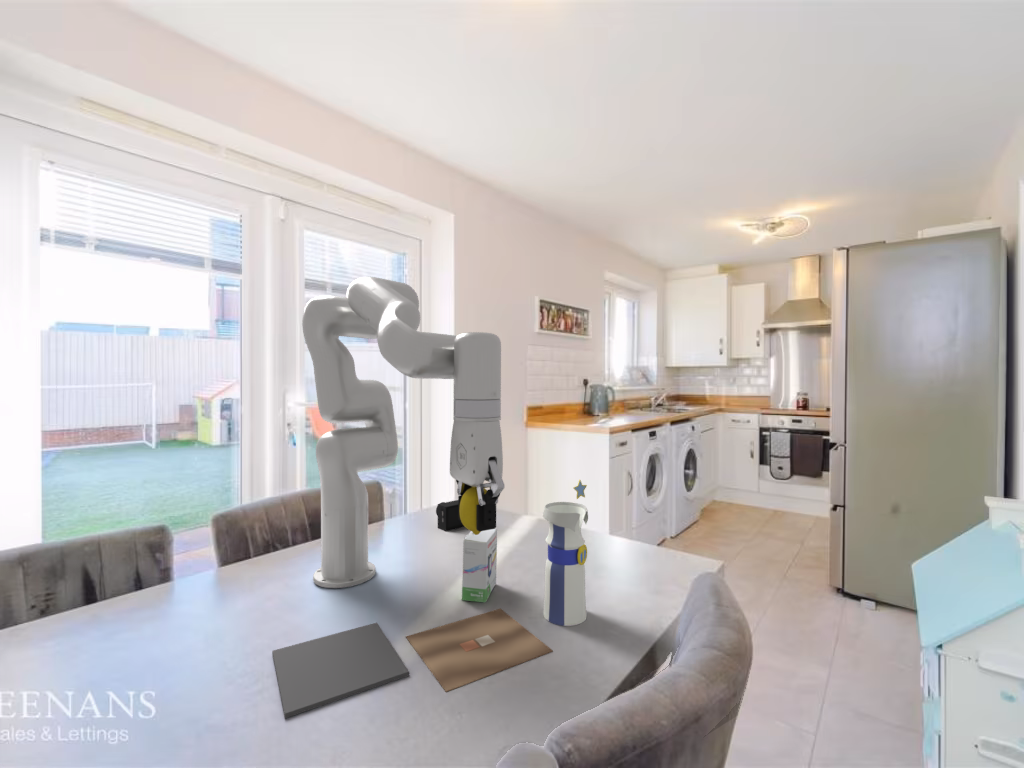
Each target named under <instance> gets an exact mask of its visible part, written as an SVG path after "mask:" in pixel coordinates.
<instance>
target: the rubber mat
mask: <svg viewBox="0 0 1024 768" xmlns="http://www.w3.org/2000/svg"><path fill="white" fill-rule="evenodd" d="M271 655H272V660H273V665H274V669H275V674H276V681H277V685H278V690H279V695H280V701H281V706H282V710H283V715H284V719H287V718H291V717H292V716H296V715H299V714H301V713H305V712H307V711H310V710H313V709H316V708H319V707H322V706H324V705H327V704H331V703H333V702H336V701H339V700H343V699H346V698H348V697H351V696H353V695H356V694H359V693H362V692H366V691H368V690H371V689H374V688H377V687H380V686H383V685H385V684H388V683H392V682H395V681H398V680H401V679H403V678H406V677H409V676H410V671H409V669H408V667H407V666H406V664H405V662H404V661H403V660H402V658H401V657H400V655H399V654H398V652H397V651H396V649H395V648H394V646H393V645H392V643H391V642H390V640H389V638H388V637H387V635H386V634H385V633H384V631H383V629H382V628H381V626H380V625H379V623H378V622H374V623H370V624H366V625H363V626H359V627H355V628H351V629H347V630H344V631H340V632H337V633H333V634H330V635H325V636H321V637H317V638H315V639H311V640H307V641H304V642H299V643H296V644H292V645H288V646H284V647H281V648H277V649H273V650H272V654H271Z"/></svg>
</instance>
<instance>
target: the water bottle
mask: <svg viewBox="0 0 1024 768" xmlns="http://www.w3.org/2000/svg"><path fill="white" fill-rule="evenodd" d="M587 486H588V485H587V484H583V483H582V481H581V479H579V480H578V482H577V485H575V486H574V487H573V489H574V491H576V500H578V499H580V498H581V497H583V498H586V493H585V490H586V489H587ZM588 511H589V510H588V508H587V506H586V505H583V504H582V503H577V502H571V501H556V502H555V501H554V502H550V503H547V504H546V505H544V509H543V512H542V517H543V519H544V520H545V521H547V522H548V528H549V529H548V535H547V536H546V538H545V543H546V544H547V558H546V561H545V567H544V599H543V600H544V601H543V613H542V614H543V617H544V619H545V620H546V621H548V622H550V623H551V624H553V625H557V626H562V627H563V626H564V627H570V626H571V627H572V626H577V625H580V624H582V623H584V622H585V621H586V619H587V601H586V600H587V599H586V567H585V566H586V565H585V563H586V562H587V557H588V548H587V545H586V544H585V543H586V542H585V541H586V540H585V539H584V537H583V535H582V525H583V523H585V525H587V523H588V520H589V513H588Z"/></svg>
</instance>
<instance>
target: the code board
mask: <svg viewBox="0 0 1024 768" xmlns="http://www.w3.org/2000/svg"><path fill="white" fill-rule="evenodd" d="M405 639H407V641H408V643H409V644H410V645H411V647H412V648H413V649H414V651H415V652H416V653H417V655H418V656H419V657H420V659H421V661H422V662H423V663H424V664H425V666H426V667H427V668H428V670H429V671H430V672H431V674H432V675H433V676H434V678H435V680H436V681H437V682H438V684H439V685H440V686H441V688H442V689H443V690H444V692H445V693H448V692H450V691H453V690H455V689H458V688H460V687H463V686H466V685H469V684H473V682H476V681H480V680H481V679H485V678H487V677H490V676H493V675H495V674H498V673H500V672H503V671H505V670H509V669H511V668H513V667H516V666H518V665H522V664H524V663H526V662H530V661H531V660H535V659H537V658H539V657H543V656H545V655H547V654H550V653H553V652H554V651H553V649H552V648H551V647H549V646H548V645H547V644H546V643H544V642H543V641H541V640H540V638H538V637H537V636H536V635H534V634H533V633H532V632H531V631H529V630H528V629H527V628H526V627H524V626H523V625H522V624H521V623H519V622H518V621H517V620H516V619H514V618H513V617H512V616H511V615H509V614H508V613H507V612H506V611H504V609H503V608H496V609H493V610H490V611H487V612H484V613H479V614H477V615H473V616H470V617H466V618H464V619H460V620H457V621H453V622H449V623H446V624H443V625H439V626H436V627H433V628H429V629H426V630H422V631H419V632H416V633H413V634H409V635H406V636H405Z"/></svg>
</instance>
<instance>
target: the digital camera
mask: <svg viewBox="0 0 1024 768" xmlns="http://www.w3.org/2000/svg"><path fill="white" fill-rule="evenodd" d="M435 514H436V515H437V529H438V530H441V531H444V532H449V531H452V530H456V529H457V530H458V529H460V528H466V527H465V526H464V525H463V524H462V522H461V520H459V519H458V499H456V500H451V501H446V502H445V501H442V502H440V503H438V504H437V505H436V509H435Z"/></svg>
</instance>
